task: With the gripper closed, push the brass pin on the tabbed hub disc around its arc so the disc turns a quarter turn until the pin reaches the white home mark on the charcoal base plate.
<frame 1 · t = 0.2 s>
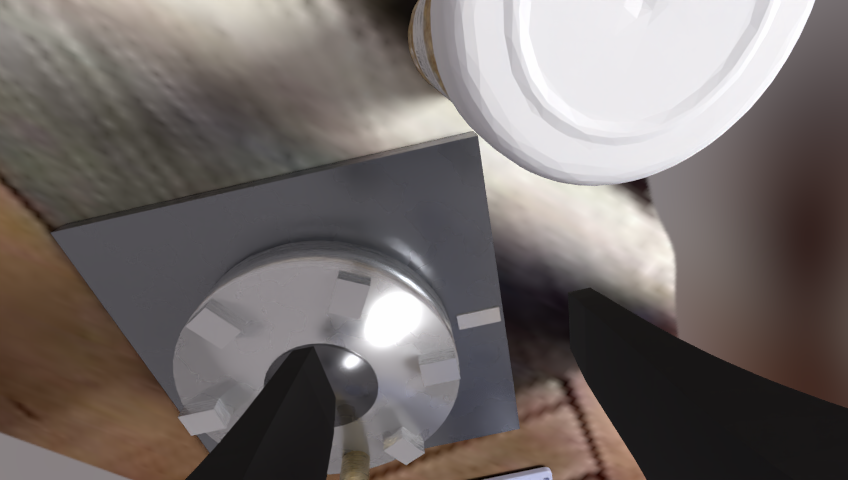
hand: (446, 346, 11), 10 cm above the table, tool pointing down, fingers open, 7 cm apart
tabbed hub disc: (319, 401, 19), point 5 cm above the table, hinge at 0.0°
sprinkles bottle: (458, 37, 17), on the table
base plate: (332, 337, 23), on the table
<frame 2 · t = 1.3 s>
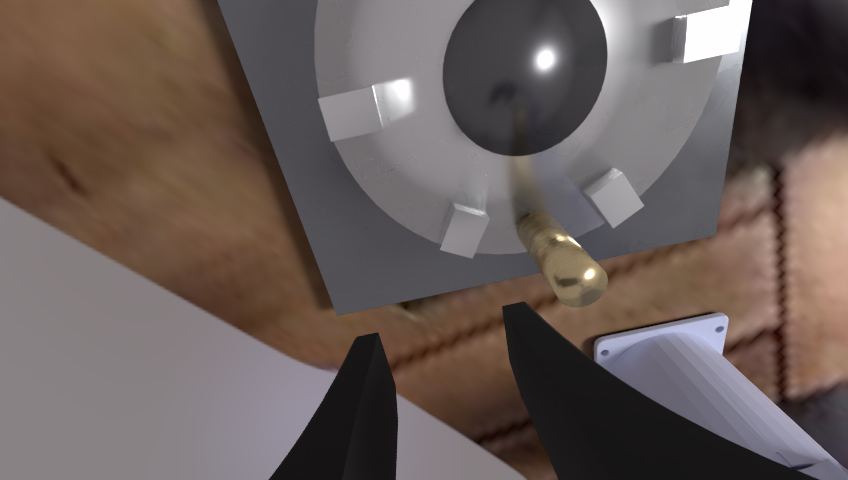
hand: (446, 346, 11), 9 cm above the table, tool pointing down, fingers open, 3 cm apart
tabbed hub disc: (532, 74, 12), point 5 cm above the table, hinge at 0.0°
base plate: (497, 69, 17), on the table
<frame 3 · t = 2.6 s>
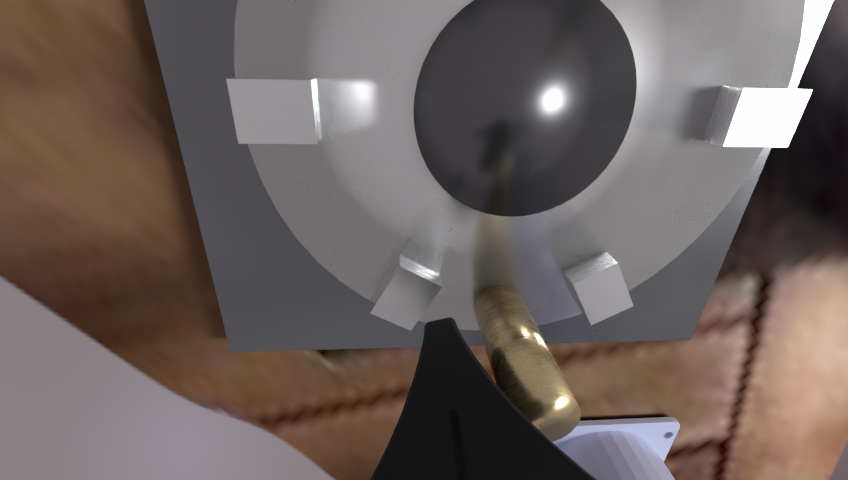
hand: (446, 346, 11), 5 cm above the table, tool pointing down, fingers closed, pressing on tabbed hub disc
tabbed hub disc: (534, 117, 9), point 5 cm above the table, hinge at 0.5°, touching gripper
base plate: (490, 96, 13), on the table
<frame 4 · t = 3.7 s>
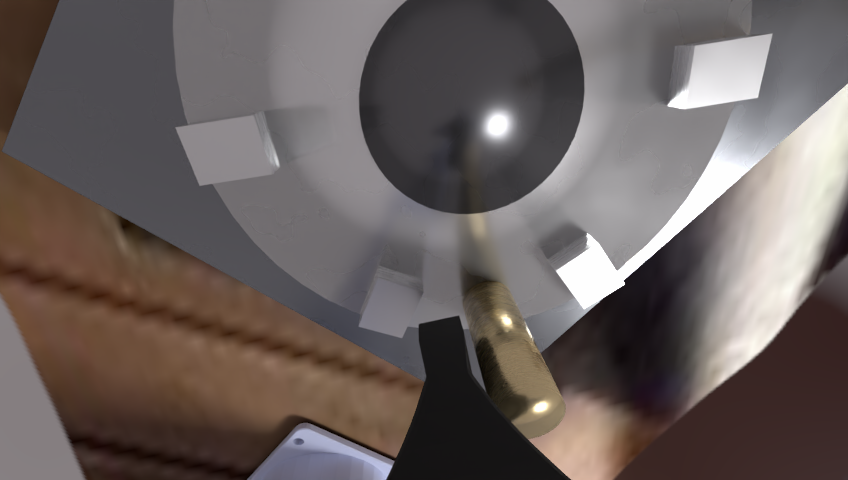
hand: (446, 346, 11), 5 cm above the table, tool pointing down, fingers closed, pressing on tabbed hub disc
tabbed hub disc: (478, 113, 9), point 5 cm above the table, hinge at 47.1°, touching gripper
base plate: (451, 93, 13), on the table
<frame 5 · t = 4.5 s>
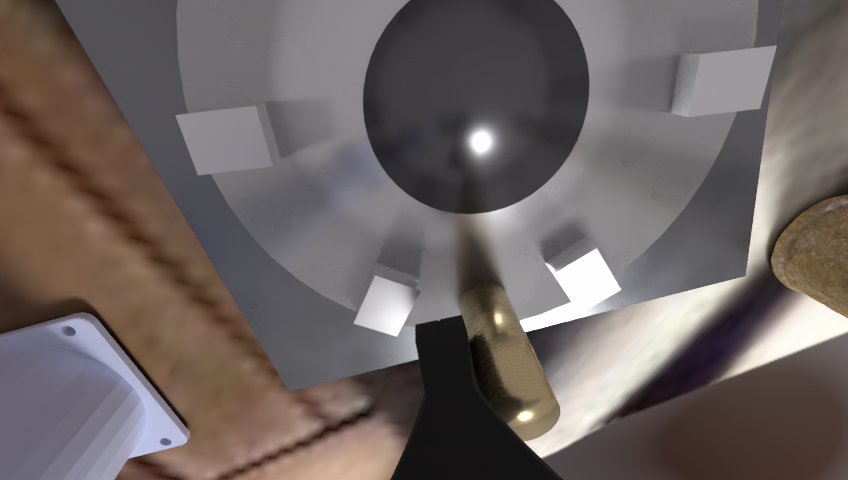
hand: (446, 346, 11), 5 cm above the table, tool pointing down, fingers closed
tabbed hub disc: (483, 112, 9), point 5 cm above the table, hinge at 81.0°, touching gripper
sprinkles bottle: (814, 237, 17), on the table
base plate: (454, 93, 13), on the table
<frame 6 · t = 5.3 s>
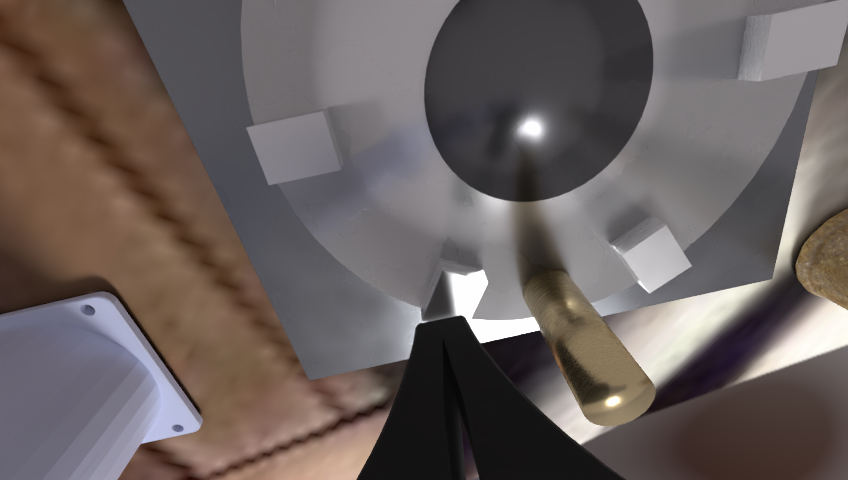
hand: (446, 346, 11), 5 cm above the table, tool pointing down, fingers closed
tabbed hub disc: (549, 96, 9), point 5 cm above the table, hinge at 88.5°
sprinkles bottle: (838, 244, 17), on the table
base plate: (499, 82, 13), on the table
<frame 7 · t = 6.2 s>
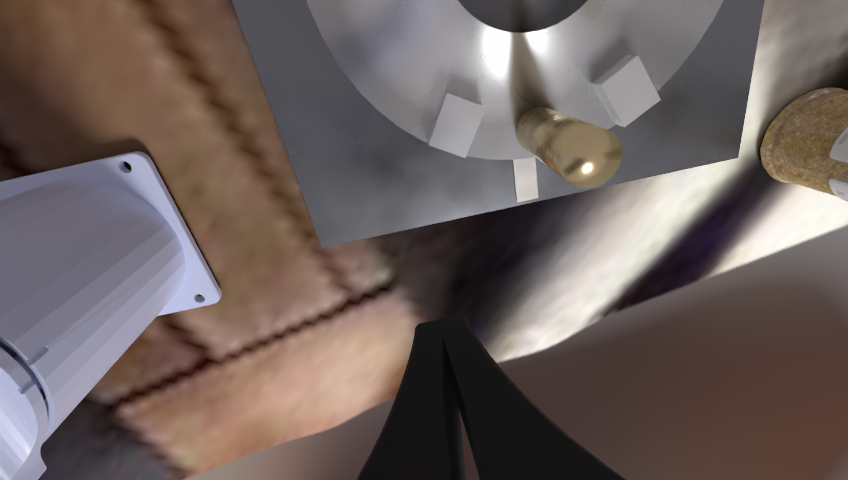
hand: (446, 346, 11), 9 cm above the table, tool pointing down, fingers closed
sprinkles bottle: (798, 134, 19), on the table
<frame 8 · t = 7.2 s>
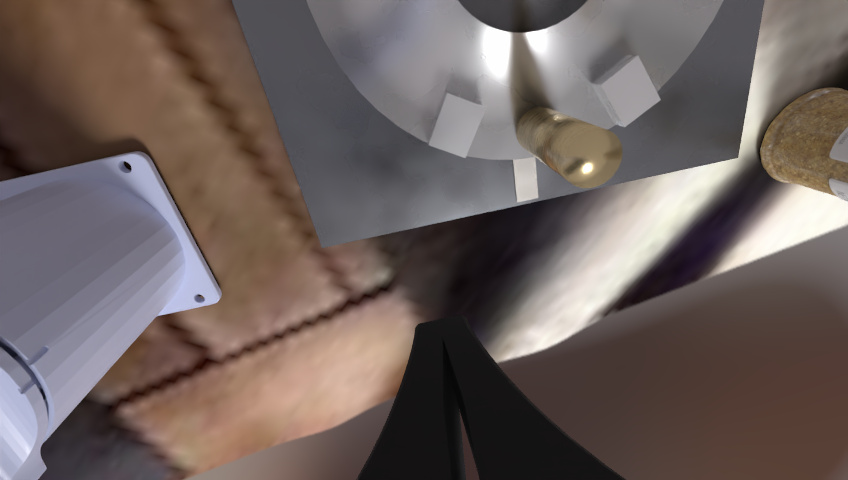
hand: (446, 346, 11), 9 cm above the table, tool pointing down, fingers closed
sprinkles bottle: (798, 134, 19), on the table
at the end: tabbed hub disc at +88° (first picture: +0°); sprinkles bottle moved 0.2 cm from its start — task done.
